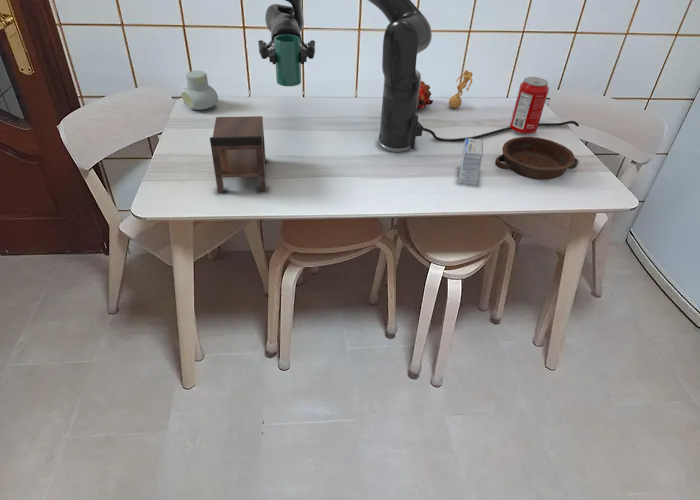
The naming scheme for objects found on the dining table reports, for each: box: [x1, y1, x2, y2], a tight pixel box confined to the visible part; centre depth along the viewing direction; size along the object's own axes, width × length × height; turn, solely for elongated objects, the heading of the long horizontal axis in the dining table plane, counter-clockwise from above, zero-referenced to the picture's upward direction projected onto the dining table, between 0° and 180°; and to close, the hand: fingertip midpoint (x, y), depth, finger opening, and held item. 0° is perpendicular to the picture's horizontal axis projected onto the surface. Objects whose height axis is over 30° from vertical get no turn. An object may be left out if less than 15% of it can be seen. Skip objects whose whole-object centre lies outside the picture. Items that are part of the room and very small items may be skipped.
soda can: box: [509, 76, 550, 136], centre depth 144 cm, size 8×8×15 cm
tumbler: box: [274, 35, 302, 87], centre depth 116 cm, size 6×6×10 cm
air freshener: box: [181, 70, 219, 111], centre depth 150 cm, size 11×8×10 cm
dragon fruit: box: [417, 80, 434, 110], centre depth 157 cm, size 8×8×12 cm
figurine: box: [448, 69, 473, 110], centre depth 156 cm, size 8×6×12 cm
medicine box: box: [458, 137, 484, 186], centre depth 124 cm, size 8×4×9 cm, turn 168°
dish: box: [494, 136, 579, 181], centre depth 130 cm, size 18×22×5 cm
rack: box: [209, 115, 267, 194], centre depth 118 cm, size 11×15×14 cm
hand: (288, 59), depth 114 cm, fingers closed on tumbler, 6 cm apart
